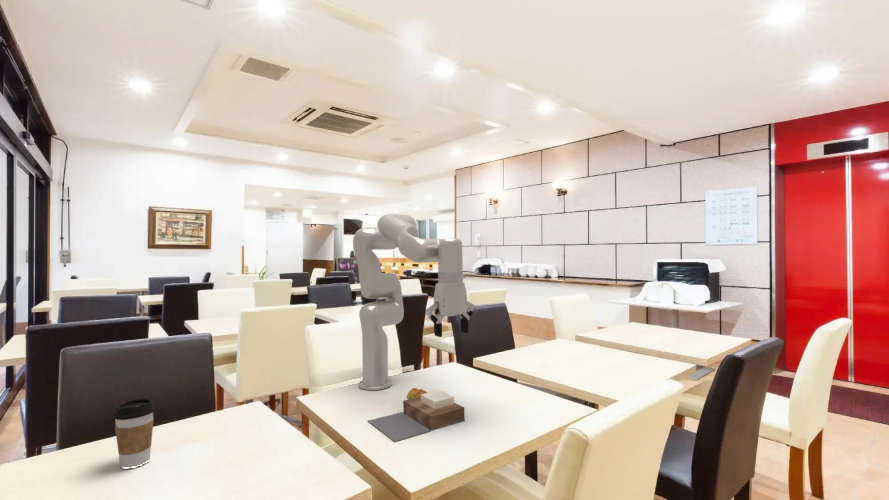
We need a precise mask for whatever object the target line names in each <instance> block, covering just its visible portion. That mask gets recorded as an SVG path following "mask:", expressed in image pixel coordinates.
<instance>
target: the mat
mask: <svg viewBox="0 0 889 500" xmlns="http://www.w3.org/2000/svg"><path fill="white" fill-rule="evenodd" d="M367 423H369V424H370V425H372V426H373V427H374V428H375V429H377V430H378V431H379V432H381V433H382V434H383V435H385V436H386V438H388V439H390V440H391V441H392V442H394V443H396V442H400V441H403V440H407V439H409V438H410V439H411V438H414V437H417V436H420V435H423V434H427V433H430V432H432V430H430V429H428V428H427V427H425V426H423V425H422V424H420V423H419V422H417V421H415V420H414V419H412V418H411V417H409V416H407V415H406V414H404V413H403V411H399V412H396V413H392V414H388V415H385V416H381V417H377V418H374V419H370V420H369V419H368V420H367Z"/></svg>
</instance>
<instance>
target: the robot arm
mask: <svg viewBox="0 0 889 500" xmlns="http://www.w3.org/2000/svg"><path fill="white" fill-rule="evenodd" d="M376 224H377V225H376V226H375V227H371V226H369V227H363V228H360V229H358V230H357V231H356V232H355V234H354V235H353V239H352V248H353V252H354V257H355V259H356V262H357V267H358V278H359V285H360V286H359V287H360V293H361V295H362V297H363V298H365V299H370V300H371V299H373V300H374V299H383V298H384V299H385V300H382V301H381V300H379V301H372V302H368V303H365V304H363V306H361V307H360V309H359V312H358V313H359V315H358V316H359V321H360V329H361V339H362V341H361V342H362V343H361V345H362V348H361V349H362V353H361V354H362V372H361V375H362V379H361V380H360V381H359V382H358V388H359V389H362V390H366V391H380V390H385V389H387V388H390V387H392V385H393V380H392V379H390V378H389V355H388V354H389V353H388V352H389V346H388V345H389V344H388V342H389V340H388V339H389V338H388V336H387V334H386V332H385V330H384V329H383V327H388V326H393V325H398V324H400V323H401V322H402V321H403V319H404V315H405V310H404V301H403V293H402V292H403V291H402V286H401V281H400V279H399V278H398V275H396V274H394V273H392V272H382V268H381V261H380V259H379V258H378V256H377V255H376V253H375V252H374V250H378V251H379V250H382V251H383V250H395V249H397V248H398V251H399V252H400V254H401V255H402V256H404V257H405V258H407V259H408V260H410V261H412V262H415V263H437V265H438V267H437V272H438V273H437V275H438V277H437V278H438V279H437V283H435V286H434V293H433V304H432V305H430V306H429V307H427V308H426V309H425V312H426V313H427V316H428V319H430V321H431V323H433V332H434V336H435V337H438V338H442V337H443V324H442V320H443V319H444V317H445V318H446V317H455V316H460V318H461V319H460V321H459V322H460V332H461V333H465V334H468V333H469V320H471V317H472V315H473V312H474V309H475V308H476V305H475V304H474V303H471V302H470V301H468V297H467V296H468V295H467V290H466V289H467V288H466V284H465V282H464V279H466V274H465V273H463V272H464V271H463V270H464V269H463V268H464V265H463V242H462V240H461V239H460V238H451V237H450V238H421V237H420V238H419V230H418V227H417V222H416V220H415V218H413V217H412V216H410V215H408V214H397V213H396V214H394V213H389V214H388V213H387V214H383V215H382V216H381V217H379V218H378V220H377V223H376Z"/></svg>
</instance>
